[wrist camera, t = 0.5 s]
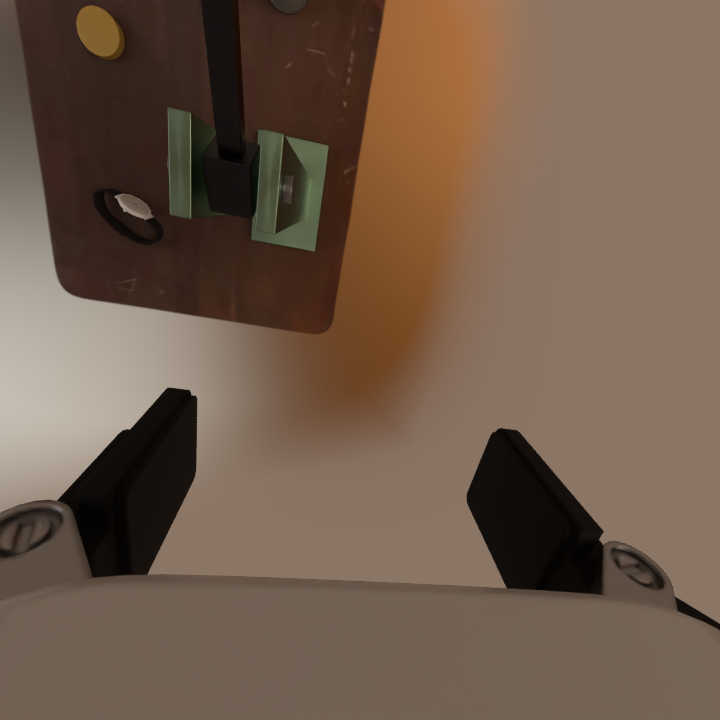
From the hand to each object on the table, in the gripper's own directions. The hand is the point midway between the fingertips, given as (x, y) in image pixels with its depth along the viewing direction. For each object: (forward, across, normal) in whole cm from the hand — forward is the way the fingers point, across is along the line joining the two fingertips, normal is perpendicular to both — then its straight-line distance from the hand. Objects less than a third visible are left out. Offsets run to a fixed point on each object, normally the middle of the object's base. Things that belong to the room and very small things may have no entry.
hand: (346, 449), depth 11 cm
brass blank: (+40, +27, -18) cm, 51 cm away
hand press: (+40, +7, -7) cm, 41 cm away
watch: (+40, +25, -1) cm, 47 cm away
